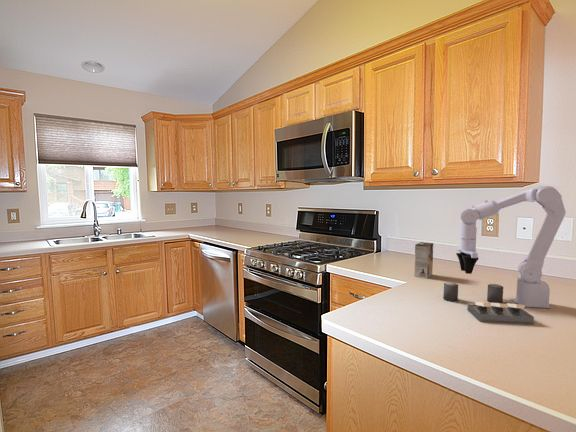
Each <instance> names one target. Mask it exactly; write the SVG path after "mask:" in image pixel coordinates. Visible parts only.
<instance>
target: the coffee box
mask: <svg viewBox="0 0 576 432" xmlns="http://www.w3.org/2000/svg"><path fill="white" fill-rule="evenodd" d="M414 246H415V248H414V277H415V278H421V279H429V278H430V277H431V276H432V275H433V269H434V268H433V267H434V266H433V263H434V262H433V260H434V242H424V241H420V242H418V243H416V244H415V245H414Z"/></svg>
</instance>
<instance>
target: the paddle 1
mask: <svg viewBox="0 0 576 432" xmlns="http://www.w3.org/2000/svg"><path fill="white" fill-rule="evenodd" d="M475 304H476V305H479V306H483V307H491V303H490V302H483V301H476V302H475Z"/></svg>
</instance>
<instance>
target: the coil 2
mask: <svg viewBox="0 0 576 432" xmlns="http://www.w3.org/2000/svg"><path fill="white" fill-rule="evenodd" d="M503 300H504V286H502V285H501V284H496V283H489V284H487V293H486V302H487V303H502V304H503V303H504V302H503Z"/></svg>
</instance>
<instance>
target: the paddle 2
mask: <svg viewBox="0 0 576 432" xmlns="http://www.w3.org/2000/svg"><path fill="white" fill-rule="evenodd" d="M506 304H508V307H513V308H521V309H525V308H526V307H524V305H522V304H517V303H509V302H507V303H506Z"/></svg>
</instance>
